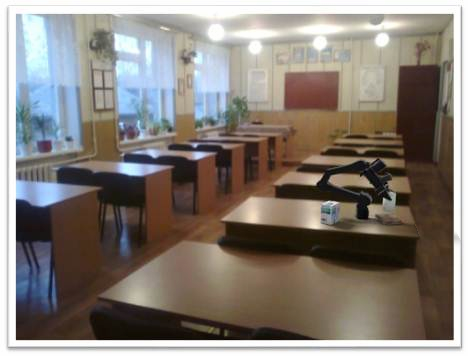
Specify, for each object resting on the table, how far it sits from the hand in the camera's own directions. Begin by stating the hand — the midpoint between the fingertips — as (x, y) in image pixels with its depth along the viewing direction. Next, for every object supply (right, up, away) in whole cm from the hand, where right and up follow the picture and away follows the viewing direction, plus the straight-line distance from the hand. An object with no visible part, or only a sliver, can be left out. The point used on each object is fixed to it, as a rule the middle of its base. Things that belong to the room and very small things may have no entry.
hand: (391, 199), depth 241 cm
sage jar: (-1, -6, +2) cm, 7 cm away
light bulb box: (-34, -13, +1) cm, 37 cm away
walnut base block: (-1, -12, +3) cm, 13 cm away
